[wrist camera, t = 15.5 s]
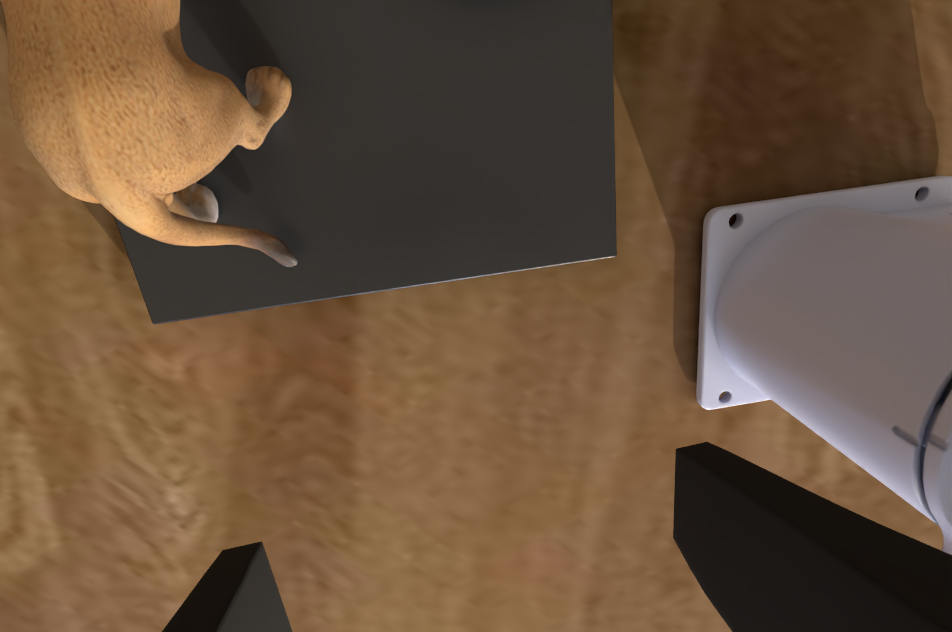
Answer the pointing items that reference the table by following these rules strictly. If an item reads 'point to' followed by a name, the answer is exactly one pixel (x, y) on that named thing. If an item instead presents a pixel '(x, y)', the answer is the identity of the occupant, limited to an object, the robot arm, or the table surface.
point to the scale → (399, 149)
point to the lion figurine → (135, 114)
